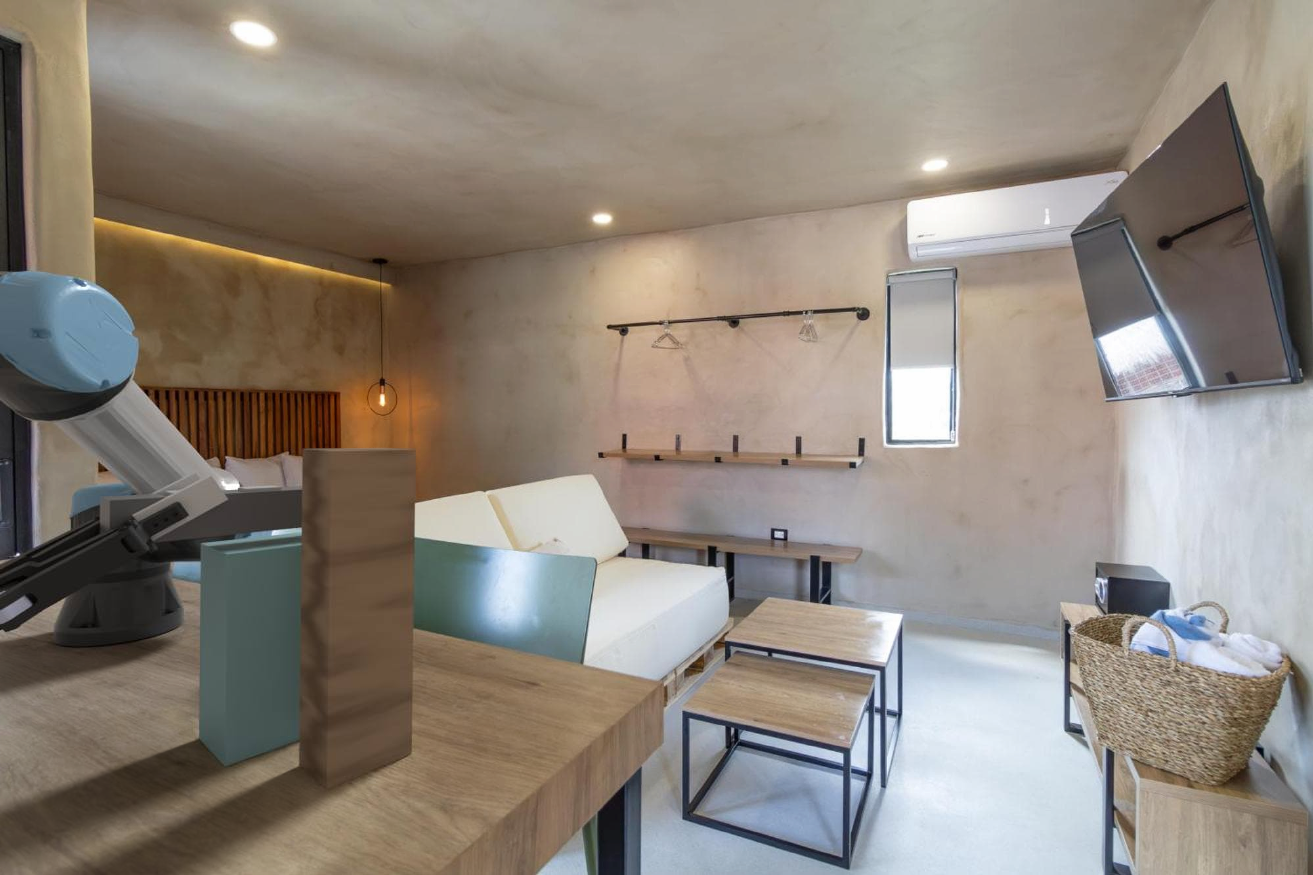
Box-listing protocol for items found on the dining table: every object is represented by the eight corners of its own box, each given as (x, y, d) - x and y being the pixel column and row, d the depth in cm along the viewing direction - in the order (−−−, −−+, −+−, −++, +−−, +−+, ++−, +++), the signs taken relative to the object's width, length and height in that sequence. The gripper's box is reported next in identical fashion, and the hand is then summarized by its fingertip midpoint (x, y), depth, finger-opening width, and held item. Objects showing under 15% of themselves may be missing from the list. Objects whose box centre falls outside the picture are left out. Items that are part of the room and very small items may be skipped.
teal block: (198, 738, 63) (200, 543, 62) (308, 703, 71) (310, 531, 71) (225, 766, 58) (227, 554, 57) (340, 725, 66) (342, 539, 66)
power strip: (99, 541, 55) (100, 492, 55) (349, 517, 72) (349, 480, 72) (109, 547, 52) (109, 495, 52) (365, 521, 70) (366, 482, 69)
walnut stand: (299, 765, 58) (302, 448, 58) (381, 733, 64) (385, 447, 64) (326, 789, 54) (330, 451, 54) (411, 753, 60) (415, 449, 60)
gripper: (-90, 671, 51) (205, 509, 66) (-86, 738, 40) (265, 526, 56) (-165, 602, 48) (162, 449, 64) (-182, 655, 37) (217, 455, 53)
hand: (210, 485), depth 60 cm, fingers closed on power strip, 4 cm apart
